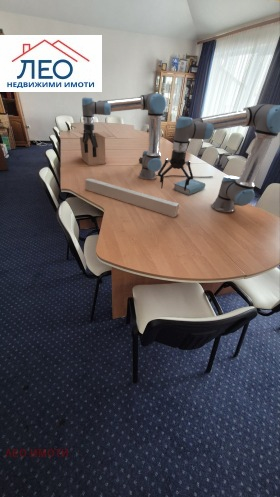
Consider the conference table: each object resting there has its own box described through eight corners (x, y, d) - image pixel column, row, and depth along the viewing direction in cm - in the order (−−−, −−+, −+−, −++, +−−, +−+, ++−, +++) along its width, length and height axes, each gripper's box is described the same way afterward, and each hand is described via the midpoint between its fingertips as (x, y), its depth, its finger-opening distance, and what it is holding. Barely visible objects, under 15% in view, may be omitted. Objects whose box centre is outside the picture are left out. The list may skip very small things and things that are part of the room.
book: (188, 183, 198) (190, 178, 195) (204, 189, 190) (205, 183, 187) (173, 189, 185) (174, 183, 182) (188, 195, 176) (190, 189, 173)
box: (116, 165, 229) (116, 136, 213) (83, 168, 214) (80, 137, 198) (102, 154, 259) (101, 128, 243) (71, 156, 244) (68, 129, 228)
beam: (85, 189, 174) (84, 179, 169) (89, 187, 177) (89, 177, 172) (174, 217, 145) (176, 206, 141) (177, 214, 149) (179, 203, 144)
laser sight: (158, 166, 235) (159, 156, 229) (137, 164, 238) (138, 154, 232) (159, 164, 243) (160, 154, 237) (139, 161, 245) (140, 152, 239)
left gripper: (76, 121, 164) (78, 151, 176) (92, 126, 149) (93, 159, 161) (85, 120, 168) (87, 150, 180) (102, 126, 153) (102, 158, 165)
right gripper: (155, 149, 115) (151, 189, 128) (203, 154, 114) (194, 193, 126) (156, 146, 121) (152, 184, 134) (202, 151, 120) (193, 188, 133)
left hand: (90, 154), depth 171 cm, fingers open, 13 cm apart
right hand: (173, 189), depth 130 cm, fingers open, 13 cm apart
